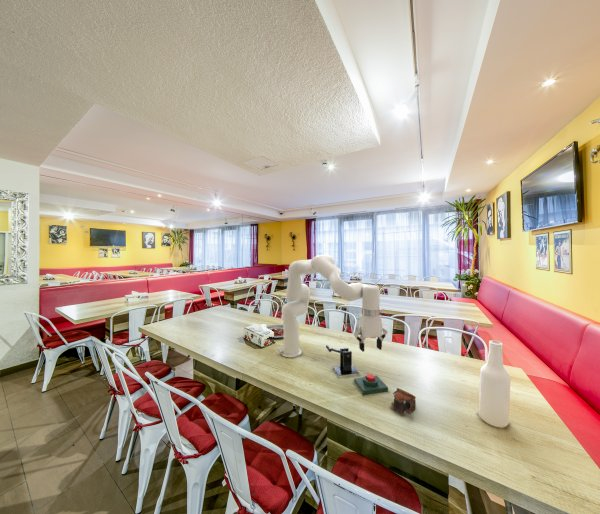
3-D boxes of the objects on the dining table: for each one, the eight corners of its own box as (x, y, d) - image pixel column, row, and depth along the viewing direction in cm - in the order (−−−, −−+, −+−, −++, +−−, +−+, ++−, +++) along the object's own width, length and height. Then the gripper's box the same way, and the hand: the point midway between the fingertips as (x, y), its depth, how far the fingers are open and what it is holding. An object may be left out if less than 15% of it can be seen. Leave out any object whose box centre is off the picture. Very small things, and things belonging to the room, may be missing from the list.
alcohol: (472, 413, 94) (475, 338, 92) (490, 410, 96) (493, 336, 94) (495, 430, 85) (498, 348, 84) (514, 426, 87) (518, 345, 86)
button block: (363, 395, 106) (363, 386, 106) (353, 382, 116) (353, 374, 115) (388, 392, 108) (388, 383, 108) (376, 379, 118) (376, 371, 118)
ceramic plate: (285, 342, 164) (285, 337, 164) (253, 337, 173) (253, 333, 173) (299, 329, 189) (299, 325, 188) (269, 326, 197) (269, 322, 197)
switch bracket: (339, 378, 120) (338, 355, 119) (332, 369, 129) (332, 347, 128) (359, 375, 122) (359, 352, 121) (352, 366, 131) (352, 345, 130)
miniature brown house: (384, 404, 100) (390, 384, 103) (404, 413, 101) (409, 392, 104) (402, 417, 89) (408, 393, 91) (424, 426, 90) (429, 403, 92)
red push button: (368, 382, 110) (368, 378, 109) (365, 378, 113) (365, 374, 113) (376, 381, 110) (376, 377, 110) (372, 377, 114) (372, 373, 114)
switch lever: (328, 352, 120) (329, 347, 120) (325, 348, 125) (326, 343, 125) (349, 358, 123) (350, 354, 123) (345, 354, 127) (347, 349, 128)
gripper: (383, 308, 116) (383, 344, 116) (349, 311, 112) (349, 348, 113) (392, 313, 108) (392, 351, 109) (356, 315, 105) (356, 355, 105)
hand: (370, 349), depth 111 cm, fingers open, 8 cm apart
